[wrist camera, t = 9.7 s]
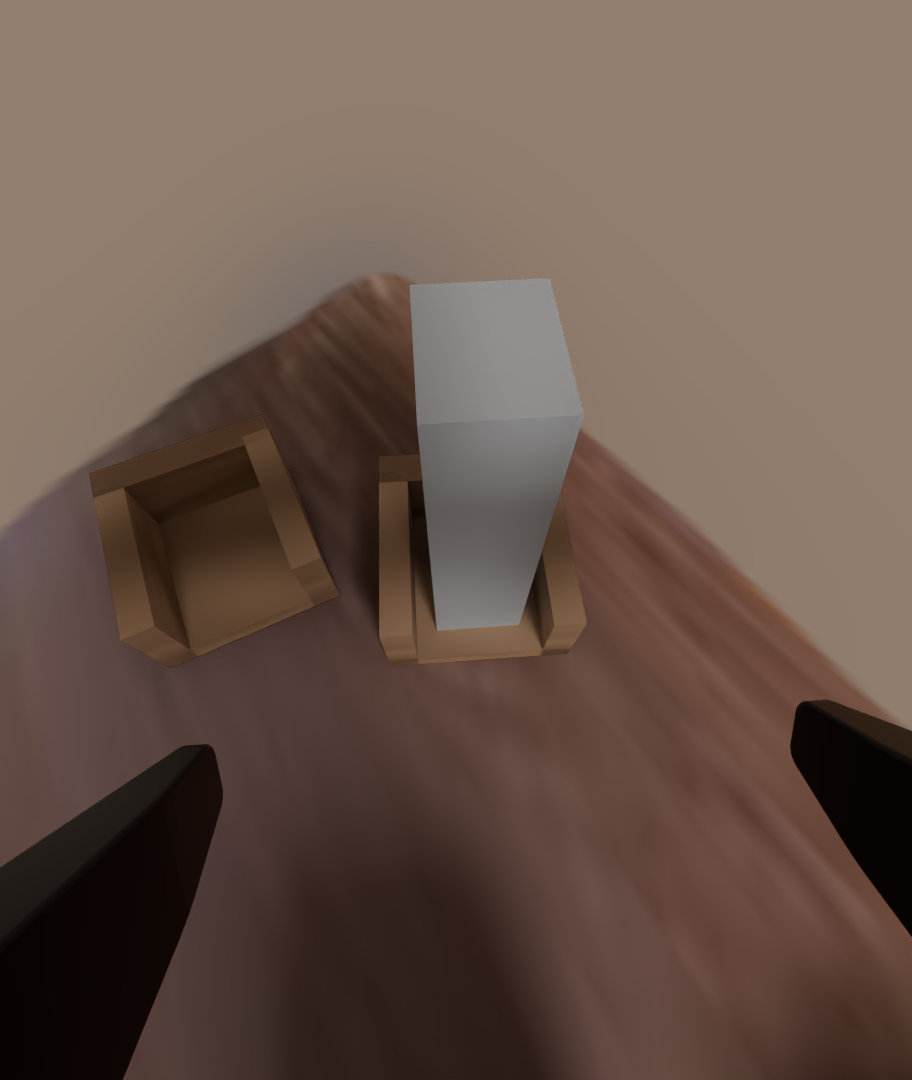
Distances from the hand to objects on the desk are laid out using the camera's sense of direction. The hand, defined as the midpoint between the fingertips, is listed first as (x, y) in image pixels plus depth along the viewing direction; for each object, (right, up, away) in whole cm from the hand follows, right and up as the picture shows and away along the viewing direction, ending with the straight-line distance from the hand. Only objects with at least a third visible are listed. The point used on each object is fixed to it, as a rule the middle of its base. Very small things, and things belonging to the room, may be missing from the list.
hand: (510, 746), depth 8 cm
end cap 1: (-11, +2, +17) cm, 20 cm away
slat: (0, +1, +15) cm, 15 cm away
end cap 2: (0, +1, +16) cm, 16 cm away
